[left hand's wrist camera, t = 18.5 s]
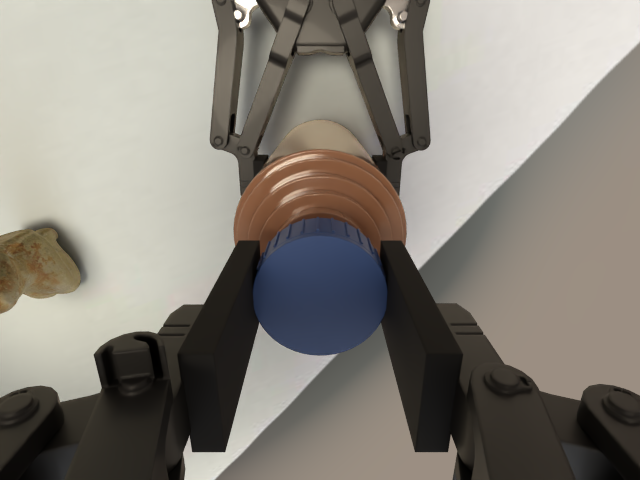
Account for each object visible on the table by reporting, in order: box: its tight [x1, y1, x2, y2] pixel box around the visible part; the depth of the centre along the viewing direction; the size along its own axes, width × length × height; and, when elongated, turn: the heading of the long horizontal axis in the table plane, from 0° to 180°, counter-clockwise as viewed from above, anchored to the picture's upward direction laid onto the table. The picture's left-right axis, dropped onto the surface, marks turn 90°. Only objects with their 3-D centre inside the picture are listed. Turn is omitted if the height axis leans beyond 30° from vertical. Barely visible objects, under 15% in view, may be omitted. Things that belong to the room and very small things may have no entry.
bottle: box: [234, 120, 407, 257], centre depth 24 cm, size 8×8×24 cm
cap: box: [253, 217, 388, 355], centre depth 14 cm, size 4×4×2 cm
